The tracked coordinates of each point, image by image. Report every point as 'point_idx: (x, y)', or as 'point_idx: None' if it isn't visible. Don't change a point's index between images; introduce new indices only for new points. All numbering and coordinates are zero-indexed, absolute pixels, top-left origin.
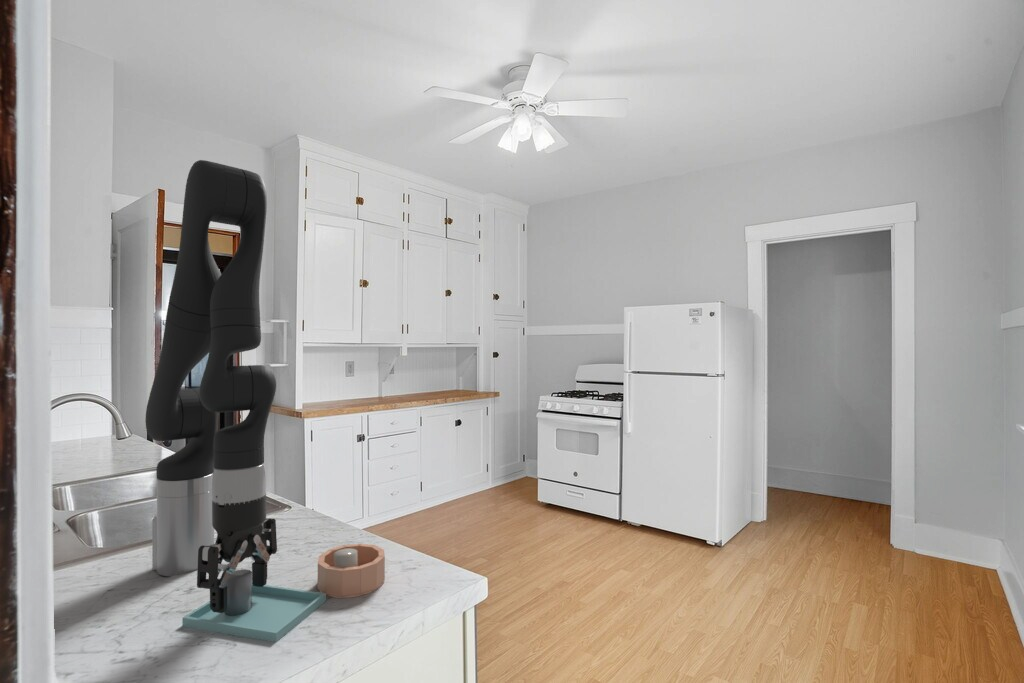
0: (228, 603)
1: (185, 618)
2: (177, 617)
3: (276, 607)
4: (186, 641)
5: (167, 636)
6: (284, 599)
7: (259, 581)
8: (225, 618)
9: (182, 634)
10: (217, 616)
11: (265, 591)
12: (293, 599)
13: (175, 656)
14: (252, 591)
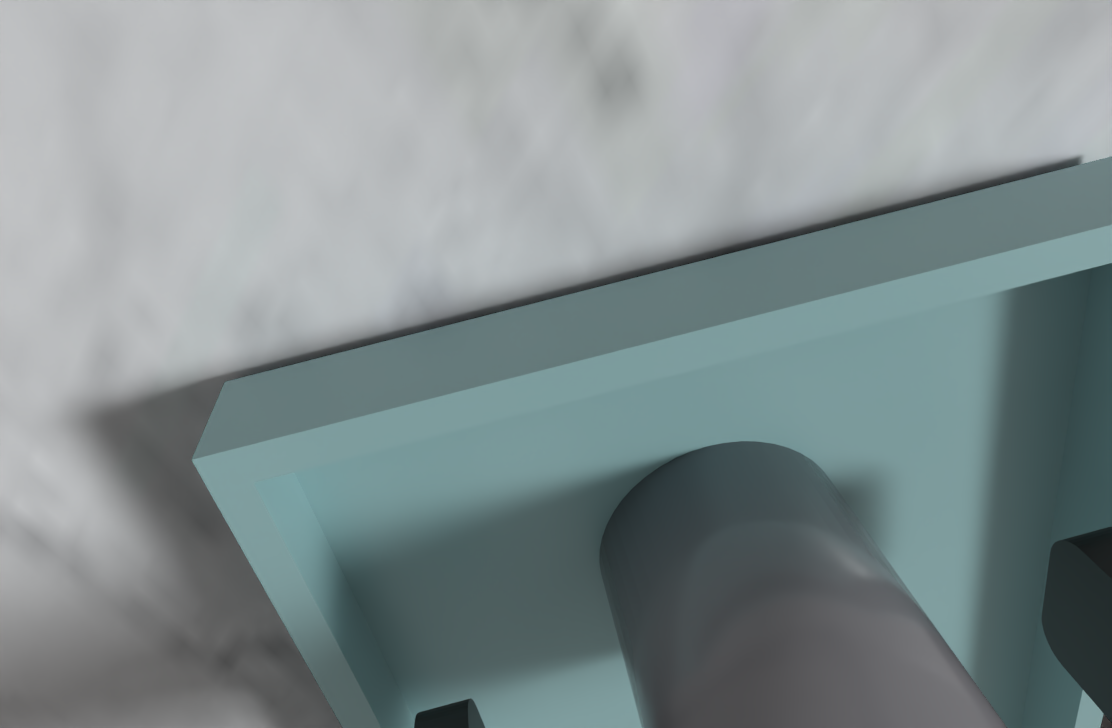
0: (627, 668)
1: (214, 489)
2: (338, 11)
3: None
4: (168, 565)
5: (63, 352)
6: (986, 669)
7: (1087, 651)
8: (551, 589)
9: (195, 436)
10: (541, 505)
11: (1075, 496)
12: (1002, 706)
13: (7, 685)
14: (1081, 349)
